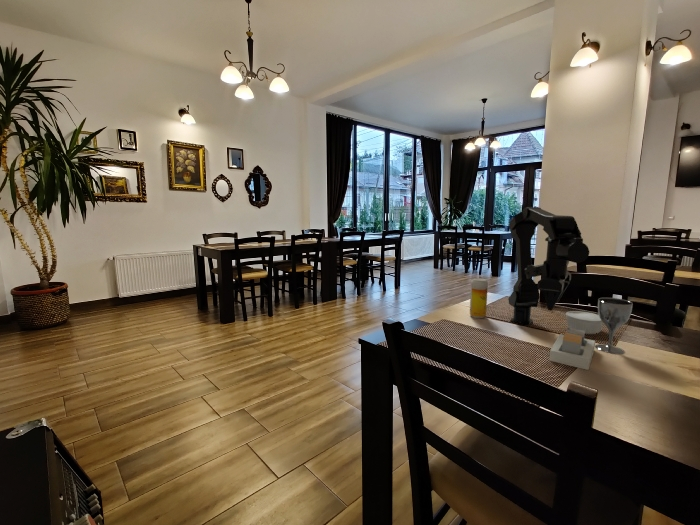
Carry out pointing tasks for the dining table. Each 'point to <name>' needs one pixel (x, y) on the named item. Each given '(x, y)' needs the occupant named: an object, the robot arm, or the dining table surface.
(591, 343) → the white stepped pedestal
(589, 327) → the ramekin
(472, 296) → the yellow bottle
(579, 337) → the plug
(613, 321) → the wine glass
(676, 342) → the dining table surface
